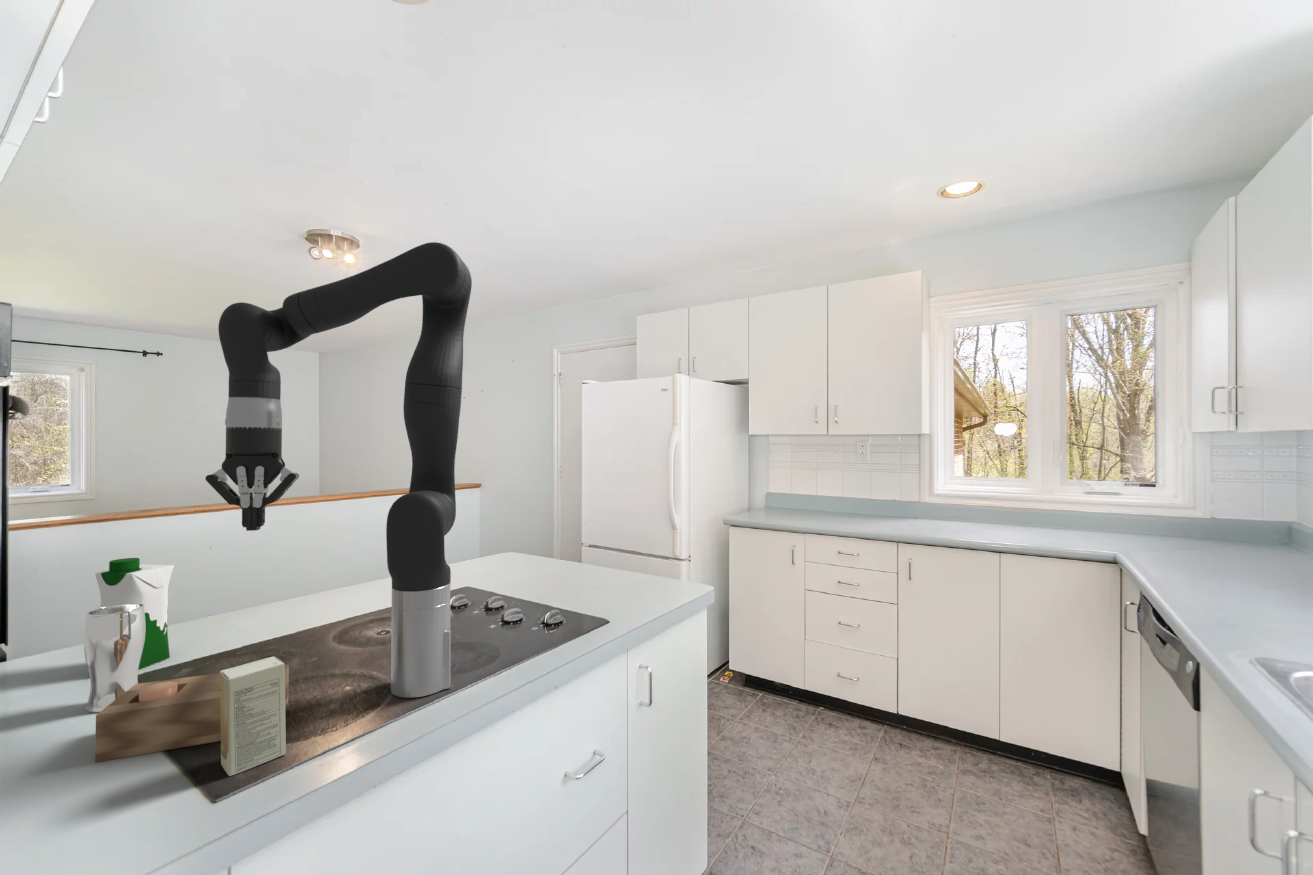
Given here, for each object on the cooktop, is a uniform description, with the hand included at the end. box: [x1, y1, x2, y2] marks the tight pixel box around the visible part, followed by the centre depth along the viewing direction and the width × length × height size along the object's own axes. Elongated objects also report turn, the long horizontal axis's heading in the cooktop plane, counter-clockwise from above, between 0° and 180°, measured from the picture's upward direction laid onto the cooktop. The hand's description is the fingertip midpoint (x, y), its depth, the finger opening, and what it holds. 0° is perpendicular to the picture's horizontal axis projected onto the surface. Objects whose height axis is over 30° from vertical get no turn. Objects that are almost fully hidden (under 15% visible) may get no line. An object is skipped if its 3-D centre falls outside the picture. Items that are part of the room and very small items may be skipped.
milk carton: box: [95, 557, 175, 671], centre depth 102 cm, size 9×9×20 cm
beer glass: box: [83, 603, 146, 714], centre depth 86 cm, size 7×7×15 cm
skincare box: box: [219, 656, 287, 777], centre depth 70 cm, size 6×4×12 cm
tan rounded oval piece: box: [139, 681, 178, 702], centre depth 76 cm, size 4×4×5 cm
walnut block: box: [94, 664, 290, 763], centre depth 78 cm, size 19×10×6 cm, turn 112°
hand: (253, 529), depth 90 cm, fingers closed
